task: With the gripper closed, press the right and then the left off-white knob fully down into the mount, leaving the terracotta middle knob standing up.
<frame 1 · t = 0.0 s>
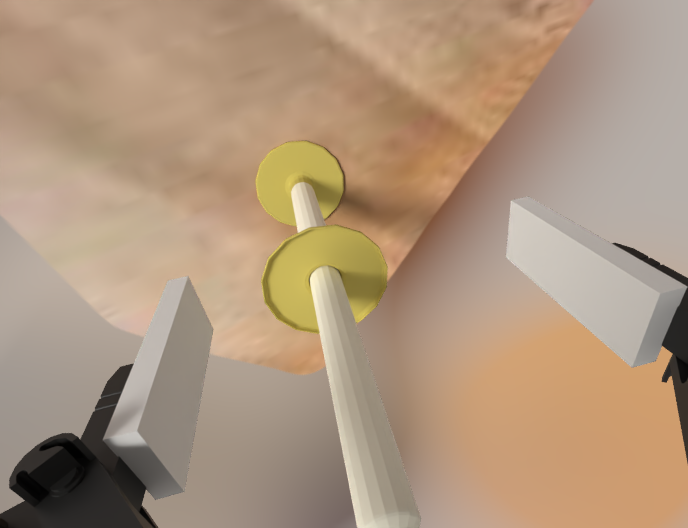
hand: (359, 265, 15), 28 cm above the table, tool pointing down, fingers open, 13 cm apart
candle: (300, 185, 42), on the table
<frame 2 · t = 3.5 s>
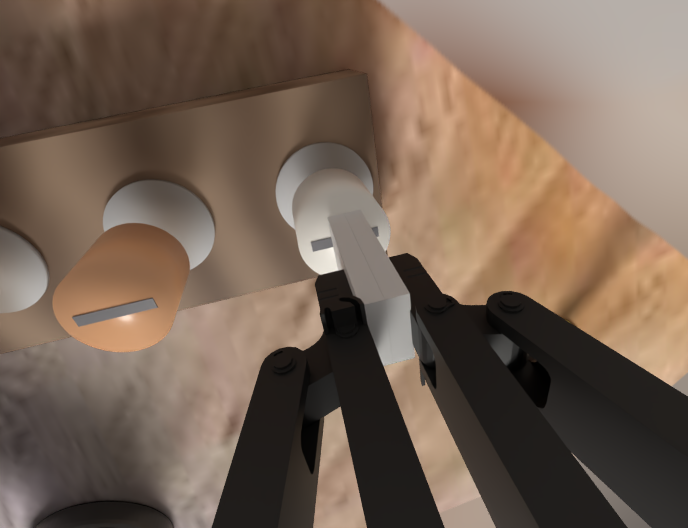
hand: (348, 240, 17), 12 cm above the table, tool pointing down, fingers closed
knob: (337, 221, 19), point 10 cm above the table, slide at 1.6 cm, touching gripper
knob middle: (130, 285, 17), point 11 cm above the table, slide at 0.0 cm
mount: (178, 199, 26), on the table
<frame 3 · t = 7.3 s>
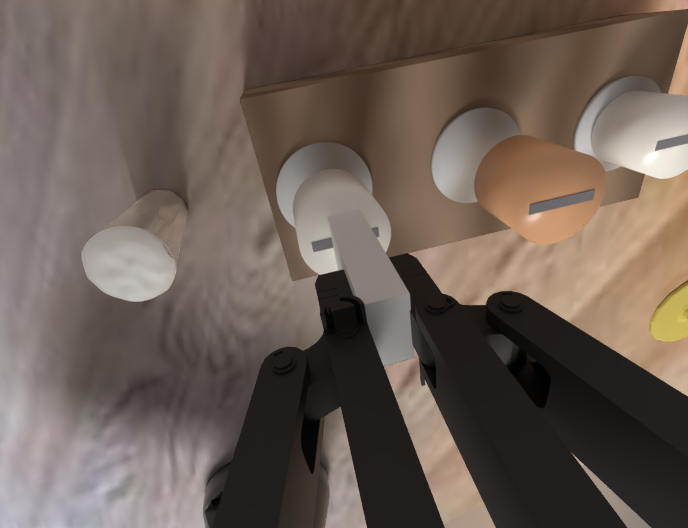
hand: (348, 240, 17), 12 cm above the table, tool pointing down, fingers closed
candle: (686, 307, 45), on the table
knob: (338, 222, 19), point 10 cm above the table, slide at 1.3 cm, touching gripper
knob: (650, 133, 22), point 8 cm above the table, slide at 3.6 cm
knob middle: (534, 188, 18), point 11 cm above the table, slide at 0.0 cm
mount: (442, 140, 28), on the table
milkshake: (169, 206, 27), on the table
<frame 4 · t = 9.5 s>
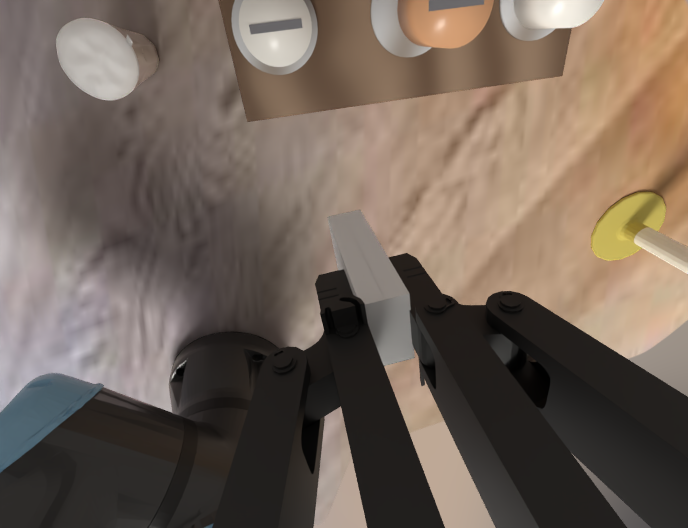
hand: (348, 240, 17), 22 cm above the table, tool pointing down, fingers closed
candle: (625, 226, 48), on the table
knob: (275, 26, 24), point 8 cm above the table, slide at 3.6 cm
knob middle: (442, 4, 22), point 11 cm above the table, slide at 0.0 cm
mount: (391, 13, 31), on the table
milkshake: (142, 52, 30), on the table
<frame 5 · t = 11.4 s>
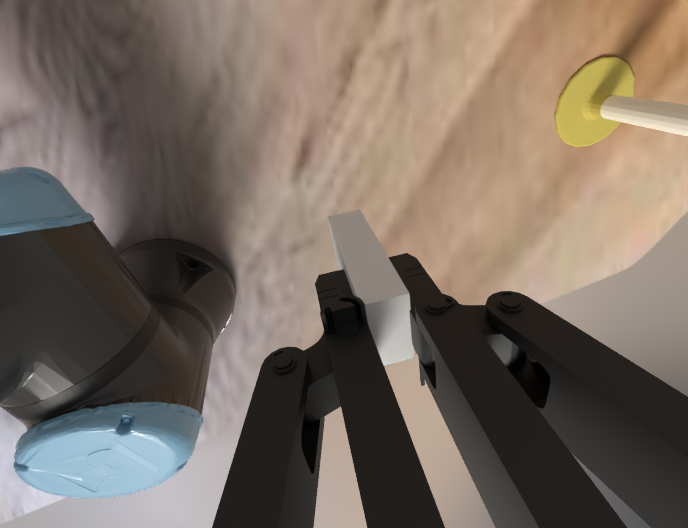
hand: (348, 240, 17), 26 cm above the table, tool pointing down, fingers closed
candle: (592, 103, 44), on the table
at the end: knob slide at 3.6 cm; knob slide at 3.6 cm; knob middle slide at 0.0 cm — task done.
